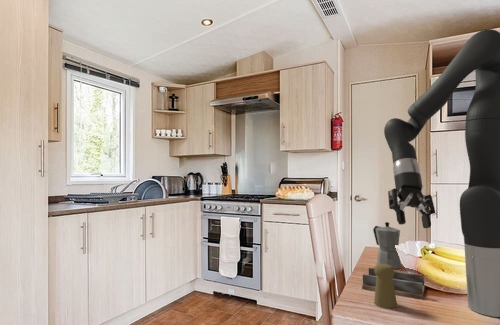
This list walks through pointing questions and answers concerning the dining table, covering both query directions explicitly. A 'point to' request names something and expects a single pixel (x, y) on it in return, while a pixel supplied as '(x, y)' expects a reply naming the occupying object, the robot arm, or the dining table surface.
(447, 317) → the dining table surface
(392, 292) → the olive waisted cylinder
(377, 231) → the coffeepot
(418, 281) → the walnut track
